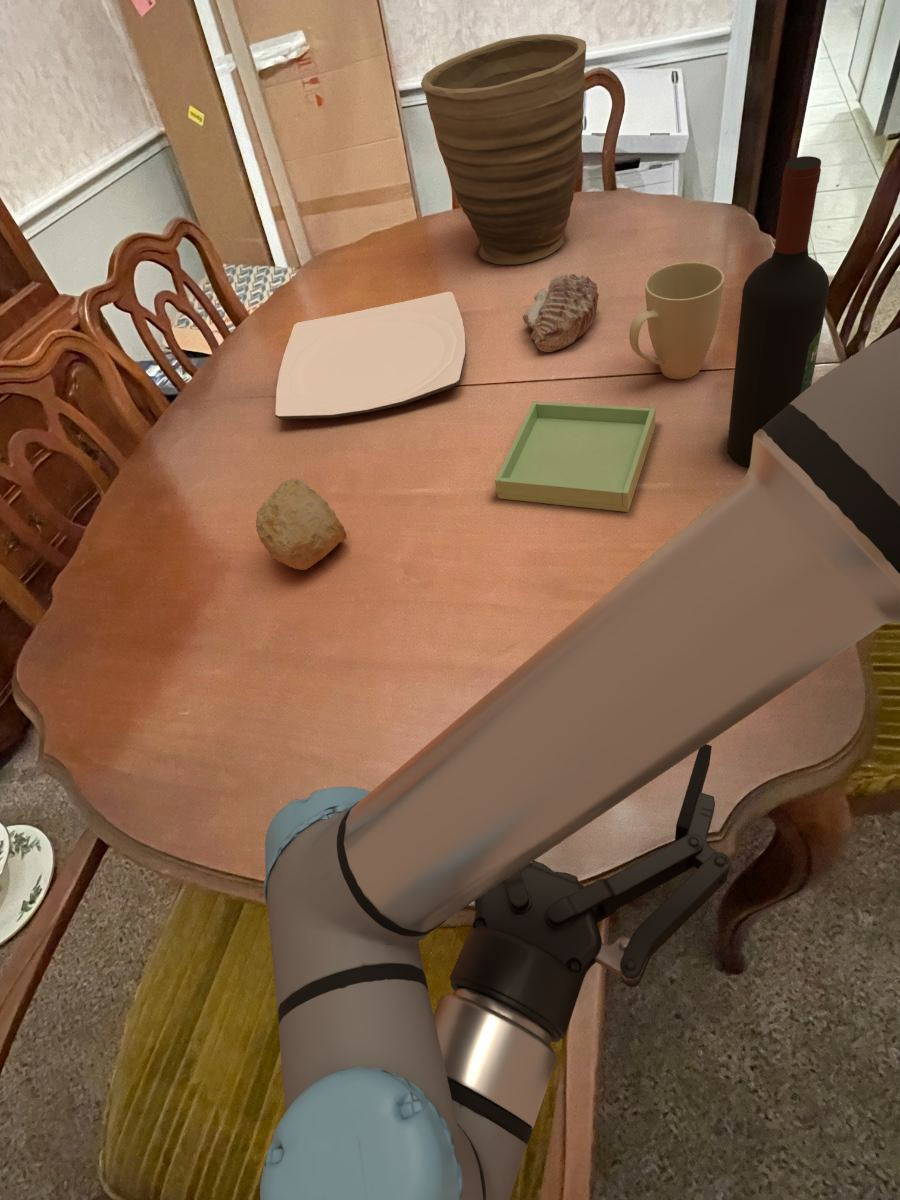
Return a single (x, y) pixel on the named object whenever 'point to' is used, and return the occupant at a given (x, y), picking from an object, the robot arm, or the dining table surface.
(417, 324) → the plate
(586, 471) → the tray
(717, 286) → the mug
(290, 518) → the tan rock
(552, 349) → the seashell
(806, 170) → the wine bottle
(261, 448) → the dining table surface
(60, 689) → the dining table surface
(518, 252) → the vase
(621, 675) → the robot arm
